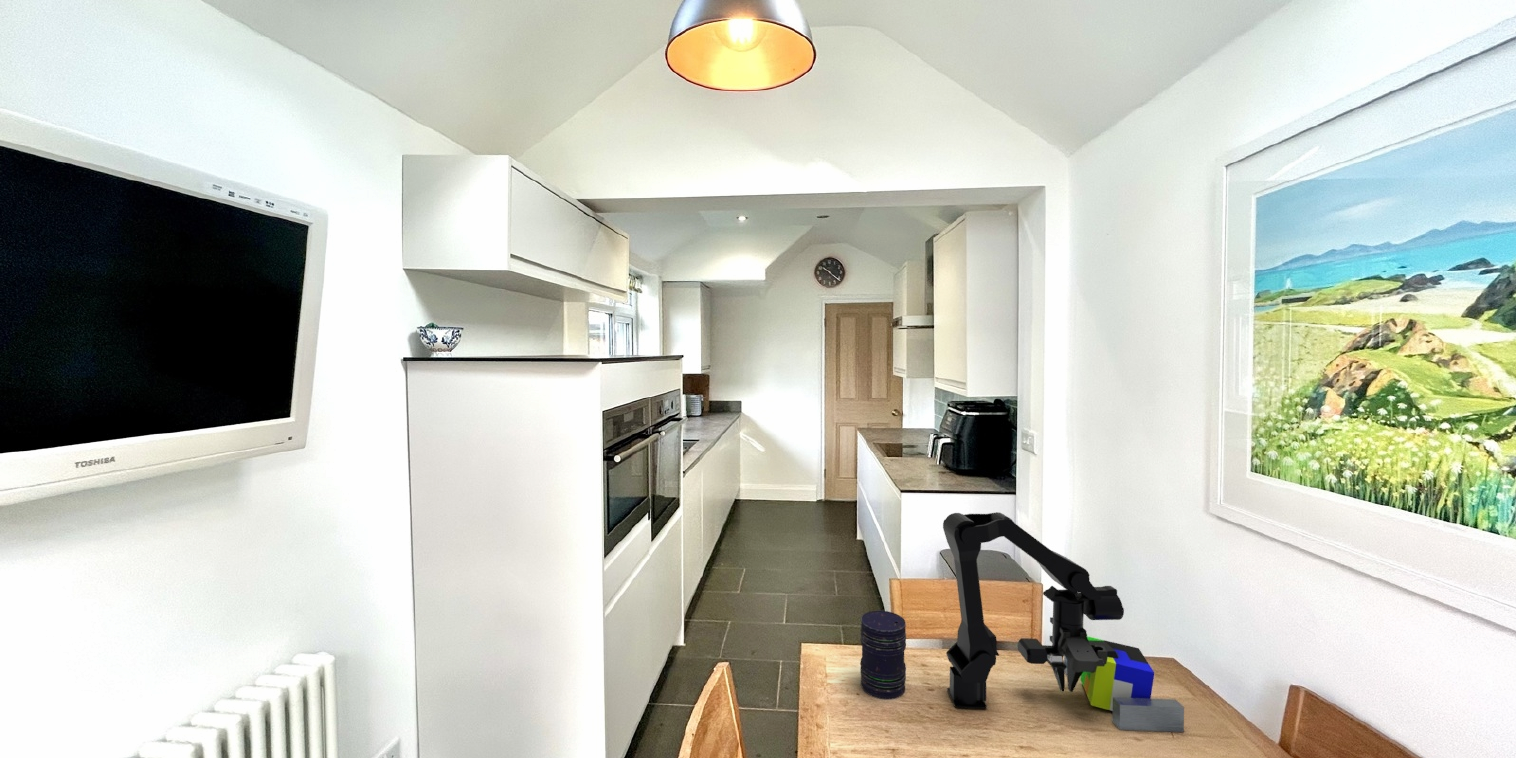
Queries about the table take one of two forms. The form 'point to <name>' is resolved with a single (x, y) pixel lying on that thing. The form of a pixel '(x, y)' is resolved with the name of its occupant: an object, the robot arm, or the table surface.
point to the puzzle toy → (1119, 677)
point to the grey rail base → (1147, 714)
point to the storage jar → (883, 654)
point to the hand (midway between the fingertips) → (1066, 690)
